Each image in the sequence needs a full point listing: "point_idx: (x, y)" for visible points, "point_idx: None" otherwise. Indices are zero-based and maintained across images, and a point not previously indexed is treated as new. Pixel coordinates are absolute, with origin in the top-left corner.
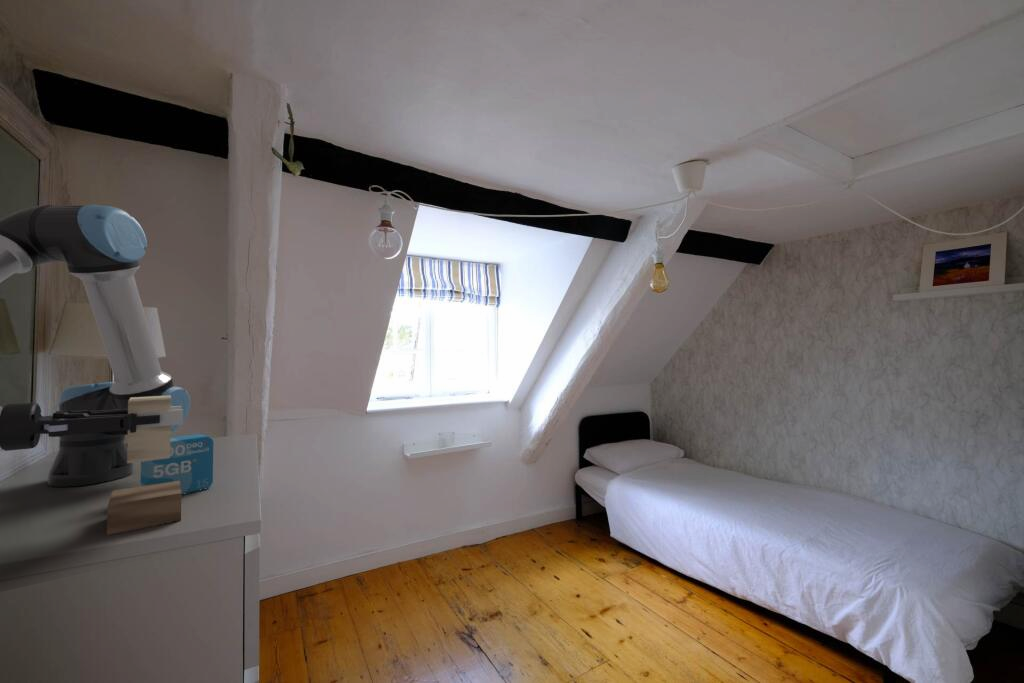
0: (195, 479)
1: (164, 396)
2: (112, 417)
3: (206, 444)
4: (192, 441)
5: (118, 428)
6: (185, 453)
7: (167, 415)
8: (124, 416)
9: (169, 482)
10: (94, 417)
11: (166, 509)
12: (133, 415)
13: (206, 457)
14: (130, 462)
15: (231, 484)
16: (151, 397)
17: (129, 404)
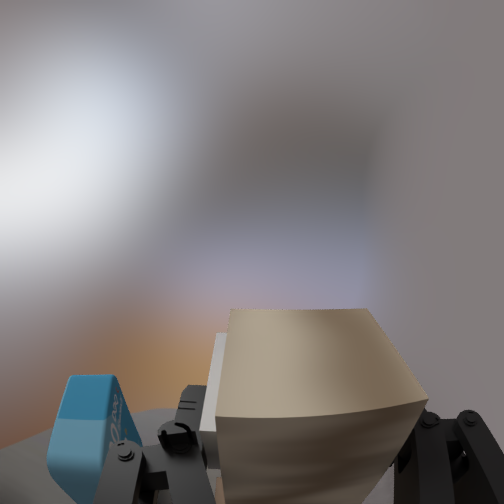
0: None
1: (261, 321)
2: (497, 445)
3: (117, 392)
4: (111, 403)
5: (467, 461)
6: (119, 432)
7: None
8: (481, 420)
9: (220, 492)
10: (502, 500)
11: None
12: (435, 418)
13: (126, 413)
14: None
15: (147, 422)
16: (279, 349)
17: (420, 406)
